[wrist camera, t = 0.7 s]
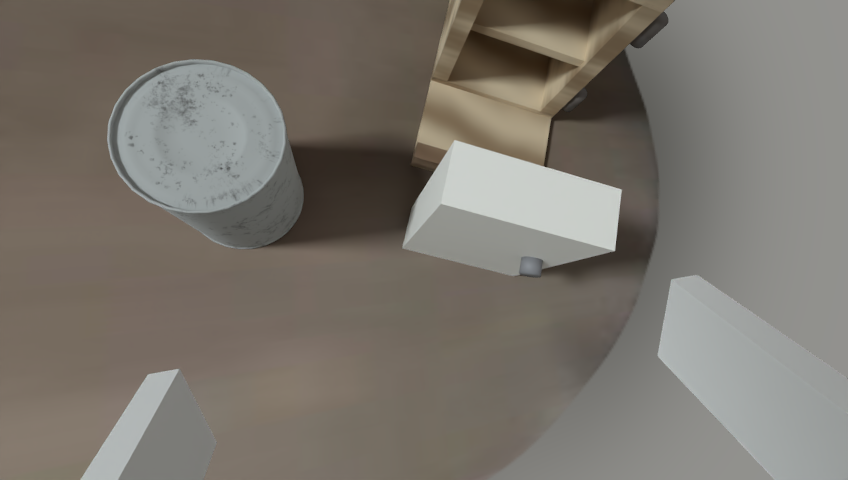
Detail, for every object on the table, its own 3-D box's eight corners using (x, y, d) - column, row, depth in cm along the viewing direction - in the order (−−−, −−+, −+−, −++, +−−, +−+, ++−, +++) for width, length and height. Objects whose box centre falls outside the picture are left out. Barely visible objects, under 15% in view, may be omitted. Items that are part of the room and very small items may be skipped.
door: (411, 207, 38) (454, 139, 24) (520, 236, 40) (621, 189, 26) (399, 260, 37) (436, 223, 23) (511, 288, 39) (613, 270, 24)
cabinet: (452, -14, 44) (520, -212, 28) (574, 29, 46) (704, -131, 30) (410, 165, 39) (461, 54, 23) (548, 204, 41) (685, 128, 25)
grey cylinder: (308, 150, 37) (294, 72, 26) (297, 253, 36) (277, 220, 24) (195, 137, 36) (124, 46, 24) (177, 244, 34) (90, 204, 22)
